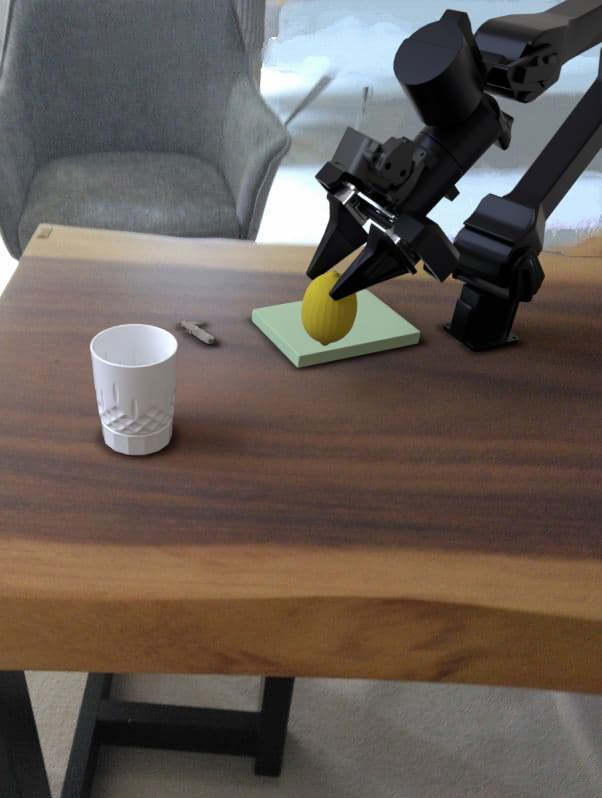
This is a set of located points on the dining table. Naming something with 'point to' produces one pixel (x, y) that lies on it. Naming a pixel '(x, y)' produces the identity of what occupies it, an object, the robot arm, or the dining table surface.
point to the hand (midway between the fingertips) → (319, 287)
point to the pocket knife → (197, 331)
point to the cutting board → (368, 335)
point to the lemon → (327, 311)
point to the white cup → (135, 386)
